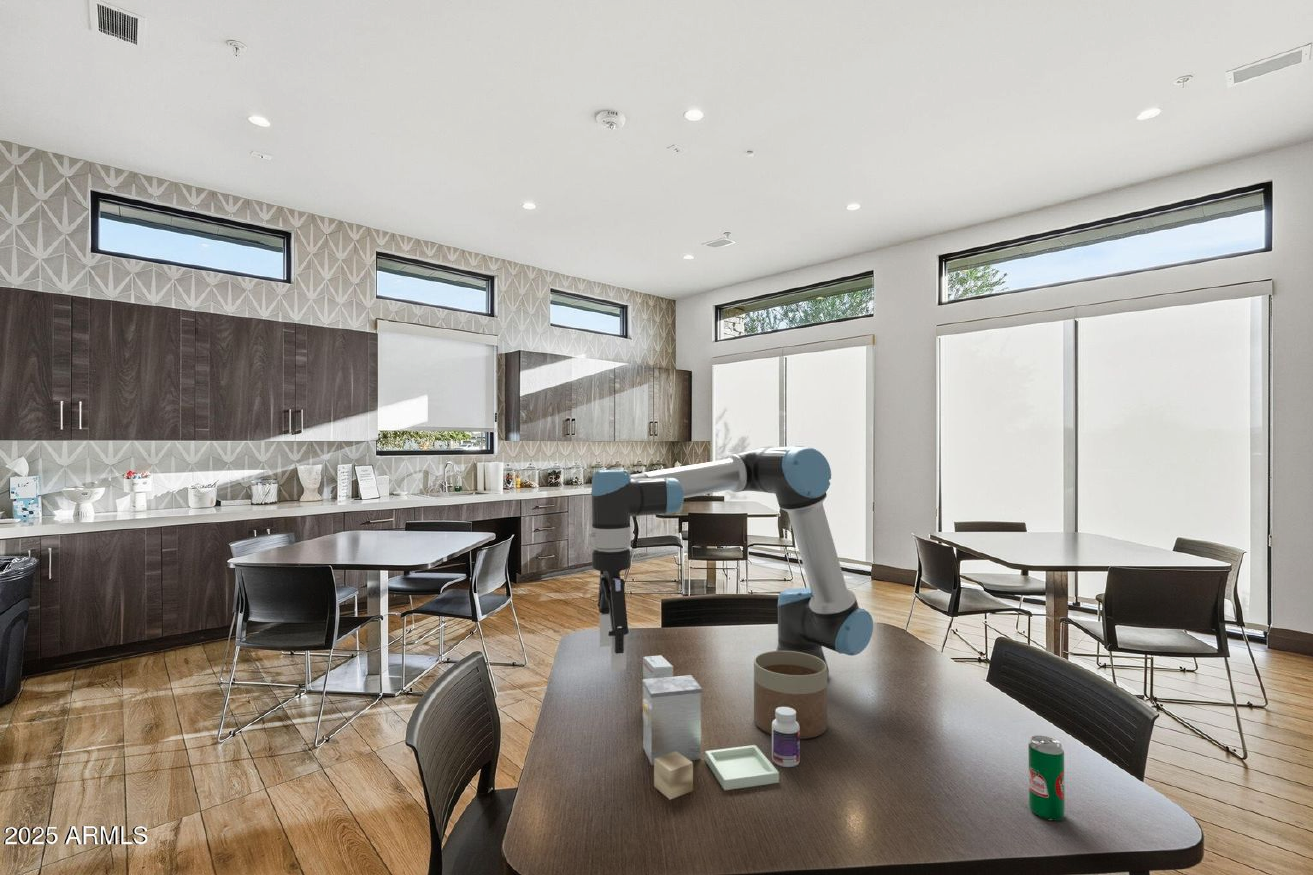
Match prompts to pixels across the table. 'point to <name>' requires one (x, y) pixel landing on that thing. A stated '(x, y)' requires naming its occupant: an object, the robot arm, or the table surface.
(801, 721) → the planter
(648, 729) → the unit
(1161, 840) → the table surface
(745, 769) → the tray
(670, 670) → the ink box
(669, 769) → the maple block
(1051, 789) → the soda can
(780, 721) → the pill bottle
